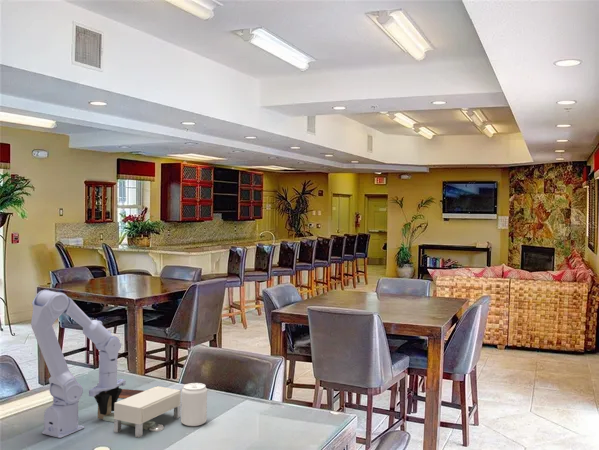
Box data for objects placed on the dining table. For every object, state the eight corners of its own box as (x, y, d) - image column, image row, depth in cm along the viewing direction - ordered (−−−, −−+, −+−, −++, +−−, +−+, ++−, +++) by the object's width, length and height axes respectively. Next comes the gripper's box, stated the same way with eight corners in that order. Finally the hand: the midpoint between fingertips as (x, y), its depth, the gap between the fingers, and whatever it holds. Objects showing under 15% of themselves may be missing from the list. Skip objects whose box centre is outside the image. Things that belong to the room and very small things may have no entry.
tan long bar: (146, 429, 174) (147, 407, 173) (96, 418, 182) (96, 397, 182) (155, 425, 177) (155, 403, 177) (105, 414, 186) (105, 394, 186)
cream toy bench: (140, 438, 167) (140, 408, 167) (113, 431, 171) (114, 402, 171) (181, 417, 185) (181, 390, 185) (156, 412, 189) (157, 386, 189)
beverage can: (182, 428, 175) (182, 390, 175) (180, 419, 183) (181, 383, 183) (207, 426, 177) (208, 388, 177) (205, 417, 185) (205, 381, 185)
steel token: (156, 433, 171) (157, 430, 171) (146, 430, 173) (146, 427, 173) (166, 428, 175) (166, 426, 175) (156, 425, 177) (156, 423, 177)
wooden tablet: (89, 392, 206) (105, 382, 216) (89, 398, 207) (105, 387, 216) (153, 400, 200) (166, 389, 210) (153, 406, 200) (166, 394, 210)
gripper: (114, 364, 191) (114, 404, 191) (82, 375, 178) (81, 417, 178) (130, 367, 188) (129, 407, 188) (98, 378, 175) (97, 420, 175)
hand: (107, 412), depth 183 cm, fingers closed on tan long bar, 3 cm apart
